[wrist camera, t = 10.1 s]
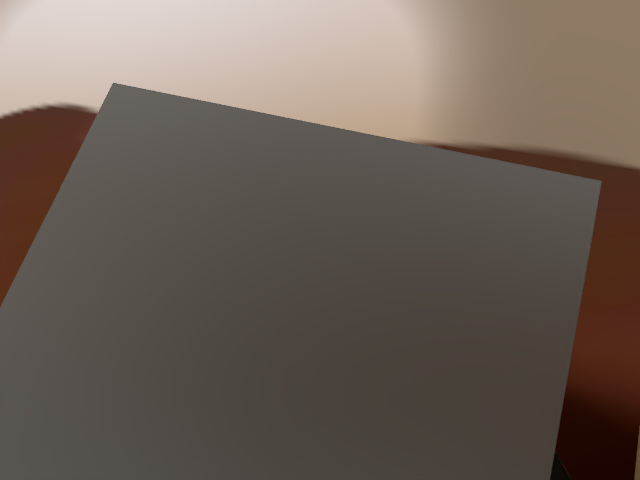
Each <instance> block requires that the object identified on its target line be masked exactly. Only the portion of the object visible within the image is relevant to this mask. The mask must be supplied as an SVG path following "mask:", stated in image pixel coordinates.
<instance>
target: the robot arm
mask: <svg viewBox="0 0 640 480" xmlns="http://www.w3.org/2000/svg"><path fill="white" fill-rule="evenodd" d="M550 480H572V478H571V477H570V475H569V473H568V472H567V470H566V468H565V467H564V465H563V463H562V462H561V460H560V458H559V457H558V455H557V453H556V452H555V453H554V459H553V465H552V470H551V476H550Z"/></svg>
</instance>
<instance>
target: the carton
mask: <svg viewBox="0 0 640 480" xmlns="http://www.w3.org/2000/svg"><path fill="white" fill-rule="evenodd" d="M634 480H640V427H639V438H638V448H637V458H636V468H635V478H634Z"/></svg>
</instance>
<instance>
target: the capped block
mask: <svg viewBox="0 0 640 480" xmlns="http://www.w3.org/2000/svg"><path fill="white" fill-rule="evenodd" d="M601 182H602V181H598V180H593V179H588V178H583V177H578V176H573V175H568V174H563V173H558V172H554V171H549V170H544V169H539V168H534V167H529V166H524V165H519V164H514V163H509V162H504V161H499V160H494V159H489V158H484V157H479V156H474V155H469V154H464V153H459V152H454V151H449V150H444V149H439V148H434V147H429V146H424V145H419V144H414V143H409V142H405V141H400V140H395V139H390V138H385V137H380V136H374V135H370V134H364V133H360V132H355V131H350V130H345V129H340V128H335V127H330V126H325V125H320V124H315V123H310V122H305V121H300V120H295V119H290V118H285V117H280V116H275V115H270V114H265V113H260V112H255V111H251V110H246V109H240V108H236V107H231V106H226V105H221V104H216V103H211V102H206V101H201V100H196V99H190V98H185V97H181V96H176V95H171V94H166V93H161V92H156V91H151V90H146V89H141V88H136V87H131V86H126V85H121V84H116V83H113V84H112V86H111V88H110V90H109V92H108V94H107V96H106V98H105V100H104V102H103V104H102V106H101V108H100V110H99V112H98V114H97V116H96V118H95V120H94V122H93V124H92V126H91V128H90V130H89V132H88V134H87V136H86V138H85V140H84V142H83V144H82V146H81V148H80V150H79V152H78V154H77V156H76V158H75V160H74V162H73V164H72V166H71V168H70V170H69V172H68V174H67V176H66V178H65V180H64V182H63V184H62V186H61V188H60V190H59V192H58V194H57V196H56V198H55V200H54V202H53V204H52V206H51V208H50V210H49V212H48V213H47V215H46V217H45V219H44V221H43V223H42V225H41V227H40V229H39V231H38V233H37V235H36V237H35V239H34V241H33V243H32V245H31V247H30V249H29V251H28V253H27V255H26V257H25V259H24V261H23V263H22V265H21V267H20V269H19V271H18V273H17V275H16V277H15V279H14V281H13V283H12V285H11V287H10V289H9V291H8V293H7V295H6V297H5V299H4V301H3V303H2V305H1V307H0V480H550V476H551V470H552V465H553V459H554V453H555V447H556V441H557V436H558V430H559V424H560V418H561V413H562V407H563V401H564V395H565V389H566V384H567V378H568V372H569V366H570V361H571V355H572V349H573V343H574V338H575V332H576V326H577V320H578V314H579V309H580V303H581V297H582V291H583V286H584V280H585V274H586V268H587V262H588V257H589V251H590V245H591V239H592V234H593V228H594V222H595V216H596V211H597V205H598V199H599V193H600V187H601Z"/></svg>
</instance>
